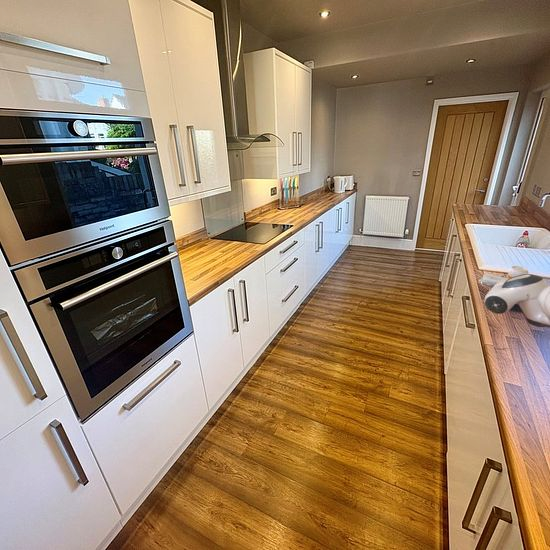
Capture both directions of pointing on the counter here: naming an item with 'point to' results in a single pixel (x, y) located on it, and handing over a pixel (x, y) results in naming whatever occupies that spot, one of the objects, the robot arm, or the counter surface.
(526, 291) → the robot arm
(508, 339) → the counter surface
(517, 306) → the tray
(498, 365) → the counter surface
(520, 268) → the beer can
